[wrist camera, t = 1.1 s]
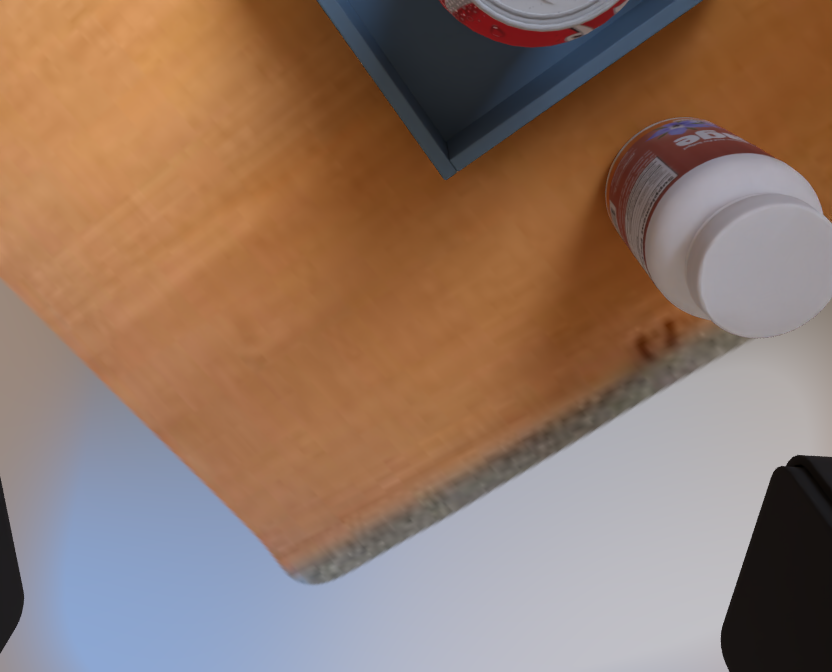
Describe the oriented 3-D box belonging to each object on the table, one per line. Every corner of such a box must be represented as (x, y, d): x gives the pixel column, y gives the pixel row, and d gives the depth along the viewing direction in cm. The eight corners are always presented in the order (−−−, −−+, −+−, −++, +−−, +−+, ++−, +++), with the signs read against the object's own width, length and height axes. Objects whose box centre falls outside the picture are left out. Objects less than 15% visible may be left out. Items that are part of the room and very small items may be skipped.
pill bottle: (767, 143, 34) (912, 220, 24) (697, 267, 37) (803, 382, 27) (640, 92, 33) (737, 150, 23) (578, 223, 36) (641, 326, 26)
